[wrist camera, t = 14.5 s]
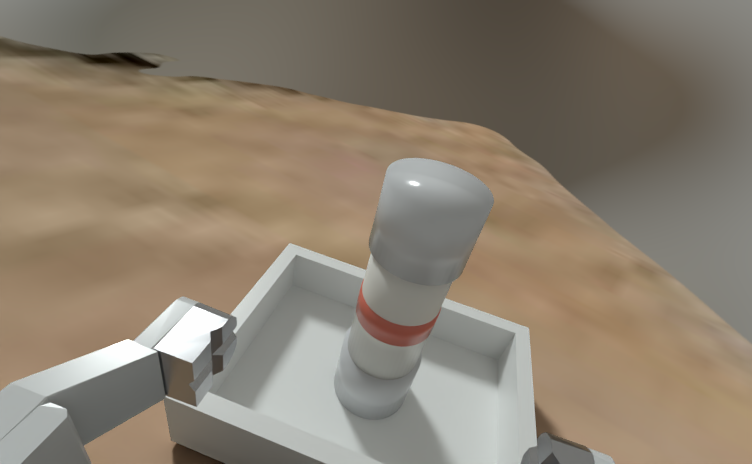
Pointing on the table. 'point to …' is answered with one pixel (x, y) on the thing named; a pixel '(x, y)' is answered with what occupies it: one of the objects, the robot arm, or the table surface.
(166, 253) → the table surface
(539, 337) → the table surface
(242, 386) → the tray
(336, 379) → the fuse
